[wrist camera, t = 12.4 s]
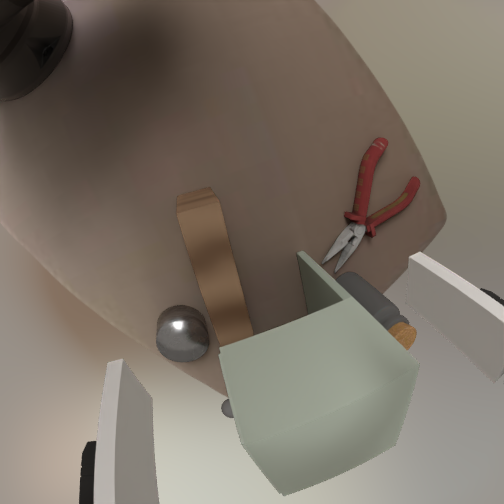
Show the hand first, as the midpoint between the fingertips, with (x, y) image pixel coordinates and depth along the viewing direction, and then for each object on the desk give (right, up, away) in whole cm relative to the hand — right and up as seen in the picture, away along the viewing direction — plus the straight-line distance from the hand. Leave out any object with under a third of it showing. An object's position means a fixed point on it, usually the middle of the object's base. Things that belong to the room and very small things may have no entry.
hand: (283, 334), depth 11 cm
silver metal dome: (-11, -7, +28) cm, 31 cm away
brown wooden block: (-6, +1, +26) cm, 27 cm away
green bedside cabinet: (+1, -6, +31) cm, 31 cm away
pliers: (+15, +11, +28) cm, 34 cm away
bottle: (+14, -2, +33) cm, 35 cm away
